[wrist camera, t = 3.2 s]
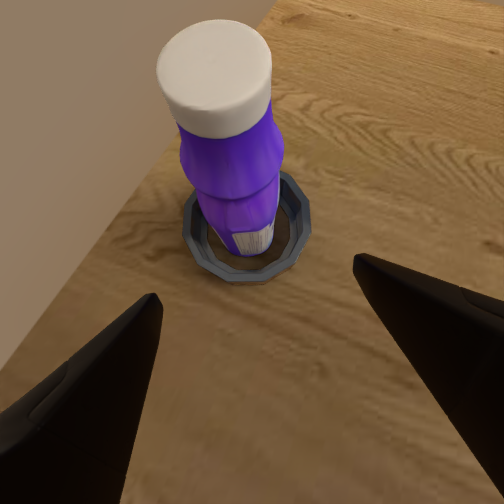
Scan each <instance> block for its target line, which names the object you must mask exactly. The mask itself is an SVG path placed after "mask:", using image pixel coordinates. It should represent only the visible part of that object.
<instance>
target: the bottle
mask: <svg viewBox="0 0 504 504" xmlns="http://www.w3.org/2000/svg"><path fill="white" fill-rule="evenodd" d="M271 72H272V60H271V53H270V50H269V47H268V45H267V43H266V42H265V40H264V39H263V37H262V36H261V35H260V34H259V33H258V32H257V31H255V30H254V29H252V28H250V27H249V26H247V25H245V24H242V23H239V22H236V21H232V20H209V21H204V22H200V23H197V24H194V25H192V26H189V27H187V28H186V29H184V30H182V31H180V32H178V33H177V34H176V35H175V36H174V37H173V38H172V39H171V40H170V41H169V42H168V43H167V44H166V45H165V46H164V48H163V49H162V51H161V53H160V55H159V58H158V60H157V67H156V76H157V81H158V84H159V86H160V89H161V91H162V94H163V96H164V97H165V100H166V101H167V104H168V105H169V108H170V111H171V113H172V116H173V117H174V119H175V120H176V123H177V125H178V128H179V130H180V134H181V140H182V142H181V146H180V162H181V165H182V167H183V170H184V172H185V174H186V176H187V178H188V180H189V181H190V182H191V184H192V185H193V186H194V187H195V189H196V193H197V199H198V202H199V204H200V207H201V210H202V212H203V215H204V217H205V219H206V220H207V222H208V223H209V224H210V225H211V227H212V228H213V229H214V231H215V232H216V234H217V235H218V236H219V238H220V239H221V241H222V242H223V244H224V245H225V247H226V248H227V250H228V251H230V252H231V253H232V254H234V255H237V256H243V257H248V256H255V255H258V254H261V253H263V252H265V251H266V250H267V249H268V248H269V247H270V245H271V243H272V240H273V234H274V221H275V214H276V211H277V208H278V203H279V192H280V176H279V169H280V166H281V163H282V160H283V153H284V143H283V138H282V135H281V132H280V131H279V129H278V127H277V126H276V124H275V123H274V121H273V115H272V109H271Z"/></svg>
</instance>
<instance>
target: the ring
mask: <svg viewBox="0 0 504 504" xmlns="http://www.w3.org/2000/svg"><path fill="white" fill-rule="evenodd" d="M279 176H280V192H279V205H280V206H281V208H282V209H283V211H284V212H285V214H286V215H287V216H288V218H289V232H290V240H289V242H288V243H287V245H286V247H285V249H284V251H283V253H282V254H281V256H280V258H279V259H277V260H275V261H274V262H272V263H270V264H269V265H267V266H265V267H263V268H262V269H260V270H236V269H234V268H232V267H230V266H229V265H227V264H225V263H223V262H222V261H220V260H218V259H217V257H216V256H215V254H214V252H213V250H212V248H211V247H210V245H209V243H208V241H207V237H208V222H207V220H206V219H205V217H204V215H203V212H202V210H201V207H200V204H199V202H198V199H197V193H196V189H195V190H194V191H193V192H192V194H191V195H190V197H189V198H188V200H187V201H186V203H185V205H184V218H183V231H182V236H183V238H184V240H185V242H186V244H187V245H188V247H189V249H190V251H191V253H192V255H193V257H194V259H195V261H196V263H197V264H198V265H199V266H201V267H203V268H204V269H206V270H208V271H209V272H211V273H213V274H215V275H216V276H218V277H220V278H221V279H223V280H225V281H227V282H228V283H230V284H232V285H264V284H266V283H268V282H269V281H271V280H273V279H274V278H276V277H278V276H279V275H281V274H283V273H284V272H286V271H288V270H289V269H291V267H292V266H293V265H294V264H295V263H296V261H297V259H298V257H299V255H300V253H301V251H302V250H303V248H304V246H305V244H306V242H307V240H308V238H309V236H310V235H311V221H310V207H309V200H308V199H307V197H306V196H305V195H304V193H303V192H302V190H301V189H300V188H299V186H298V185H297V184H296V182H295V181H294V179H293V178H292V177H291V176H290V175H289V174H287V173H285V172H283V171H280V170H279Z"/></svg>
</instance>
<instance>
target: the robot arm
mask: <svg viewBox="0 0 504 504" xmlns="http://www.w3.org/2000/svg"><path fill="white" fill-rule="evenodd" d="M353 274H354V276H355V278H356V280H357V282H358V284H359V286H360V287H361V289H362V291H363V293H364V295H365V297H366V299H367V300H368V302H369V304H370V305H371V307H372V308H373V310H374V311H375V313H376V314H377V315H378V317H379V318H380V320H381V321H382V323H383V324H384V326H385V327H386V328H387V330H388V331H389V333H390V334H391V336H392V337H393V339H394V340H395V341H396V343H397V344H398V346H399V347H400V349H401V350H402V352H403V353H404V354H405V356H406V357H407V359H408V360H409V362H410V363H411V365H412V366H413V367H414V369H415V370H416V372H417V373H418V375H419V376H420V378H421V379H422V380H423V382H424V383H425V385H426V386H427V388H428V389H429V391H430V392H431V393H432V395H433V396H434V398H435V399H436V401H437V402H438V404H439V405H440V406H441V408H442V409H443V411H444V412H445V414H446V415H447V416H448V418H449V420H450V421H451V423H452V424H453V426H454V427H455V428H456V430H457V431H458V433H459V434H460V436H461V437H462V439H463V440H464V441H465V443H466V444H467V446H468V447H469V449H470V450H471V452H472V453H473V454H474V456H475V457H476V459H477V460H478V462H479V463H480V465H481V466H482V467H483V469H484V470H485V472H486V473H487V475H488V476H489V478H490V479H491V480H492V482H493V483H494V485H495V486H496V488H497V489H498V491H499V492H500V493H501V495H502V496H503V498H504V301H502V300H498V299H495V298H492V297H489V296H486V295H483V294H480V293H477V292H474V291H471V290H469V289H466V288H463V287H459V286H457V285H454V284H452V283H449V282H446V281H443V280H440V279H437V278H434V277H432V276H429V275H426V274H423V273H420V272H417V271H415V270H412V269H409V268H406V267H403V266H400V265H397V264H395V263H392V262H389V261H386V260H383V259H380V258H378V257H375V256H372V255H369V254H366V253H361V254H356V255H355V256H354V261H353ZM162 318H163V305H162V303H161V301H160V300H159V298H158V296H157V294H156V293H149V294H145V295H144V296H143V297H141V298H140V299H139V300H138V301H137V302H136V303H134V304H133V305H132V306H131V307H130V308H128V309H127V310H126V311H125V312H124V313H123V314H121V315H120V316H119V317H118V318H117V319H115V320H114V321H113V322H112V323H111V324H110V325H108V326H107V327H106V328H105V329H104V330H102V331H101V332H100V333H99V334H98V335H96V336H95V337H94V338H93V339H92V340H91V341H89V342H88V343H87V344H86V345H85V346H83V347H82V348H81V349H80V350H79V351H78V352H76V353H75V354H74V355H73V356H72V357H70V358H69V360H68V361H66V362H64V363H63V364H62V365H61V366H60V367H59V368H57V369H56V370H55V371H54V372H53V373H51V374H50V375H49V376H48V377H46V378H45V379H44V380H43V381H42V382H40V383H39V384H38V385H37V386H35V387H34V388H33V389H32V390H30V391H29V392H28V393H26V394H25V395H24V396H23V397H21V398H20V399H19V400H18V401H16V402H15V403H14V404H12V405H11V406H10V407H8V408H7V409H6V410H5V411H3V412H2V413H1V414H0V504H119V503H120V499H121V495H122V491H123V487H124V483H125V479H126V474H127V470H128V466H129V462H130V458H131V454H132V450H133V446H134V442H135V438H136V434H137V430H138V426H139V422H140V418H141V414H142V410H143V406H144V402H145V398H146V393H147V389H148V385H149V381H150V377H151V373H152V369H153V365H154V361H155V357H156V353H157V349H158V345H159V340H160V333H161V325H162Z"/></svg>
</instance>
